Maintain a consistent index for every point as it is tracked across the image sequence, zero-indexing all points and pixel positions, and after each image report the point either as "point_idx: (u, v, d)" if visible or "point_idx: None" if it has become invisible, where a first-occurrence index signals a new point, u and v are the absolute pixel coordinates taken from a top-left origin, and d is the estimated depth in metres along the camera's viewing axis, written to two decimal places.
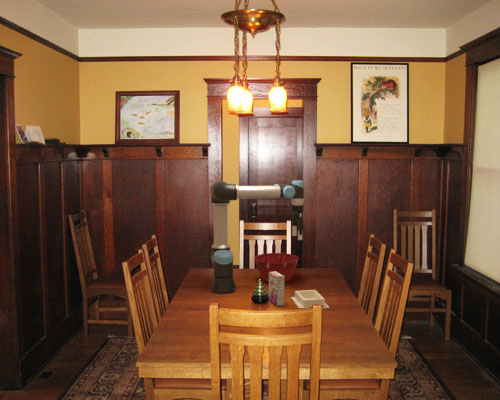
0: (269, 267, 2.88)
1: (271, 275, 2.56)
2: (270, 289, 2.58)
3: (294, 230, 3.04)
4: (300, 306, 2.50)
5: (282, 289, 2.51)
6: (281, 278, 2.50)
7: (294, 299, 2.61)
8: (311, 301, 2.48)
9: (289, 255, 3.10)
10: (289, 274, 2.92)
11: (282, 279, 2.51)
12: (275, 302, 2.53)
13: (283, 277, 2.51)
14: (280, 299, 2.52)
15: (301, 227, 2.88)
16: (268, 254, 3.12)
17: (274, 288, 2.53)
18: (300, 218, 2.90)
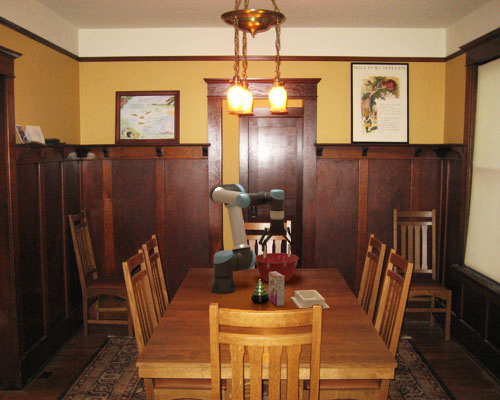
0: (269, 267, 2.88)
1: (271, 275, 2.56)
2: (270, 289, 2.58)
3: (288, 249, 2.55)
4: (300, 306, 2.50)
5: (282, 289, 2.51)
6: (281, 278, 2.50)
7: (294, 299, 2.61)
8: (311, 301, 2.48)
9: None
10: (289, 274, 2.92)
11: (282, 279, 2.51)
12: (275, 302, 2.53)
13: (283, 277, 2.51)
14: (280, 299, 2.52)
15: (258, 242, 2.52)
16: (268, 254, 3.12)
17: (274, 288, 2.53)
18: (263, 232, 2.52)
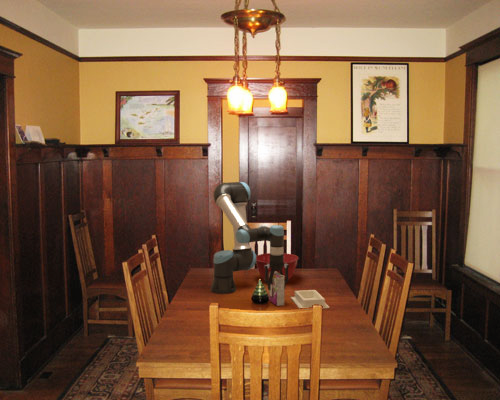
0: (269, 267, 2.88)
1: None
2: None
3: None
4: (300, 306, 2.50)
5: (282, 289, 2.51)
6: (281, 278, 2.50)
7: (294, 299, 2.61)
8: (311, 301, 2.48)
9: (289, 255, 3.10)
10: (289, 274, 2.92)
11: (282, 279, 2.51)
12: (275, 302, 2.53)
13: (283, 277, 2.51)
14: (280, 299, 2.52)
15: (265, 281, 2.55)
16: (268, 254, 3.12)
17: (274, 287, 2.53)
18: (265, 270, 2.54)
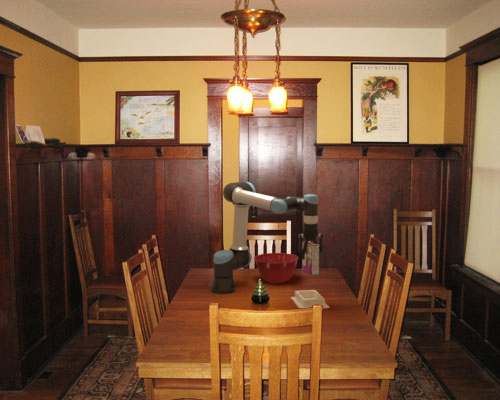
0: (269, 267, 2.88)
1: None
2: None
3: None
4: (300, 306, 2.50)
5: (317, 258, 2.50)
6: (316, 247, 2.49)
7: (294, 299, 2.61)
8: (311, 301, 2.48)
9: (289, 255, 3.10)
10: (289, 274, 2.92)
11: (317, 248, 2.49)
12: (310, 271, 2.51)
13: (318, 246, 2.49)
14: (315, 268, 2.50)
15: (299, 250, 2.53)
16: (268, 254, 3.12)
17: (309, 257, 2.51)
18: (299, 240, 2.53)
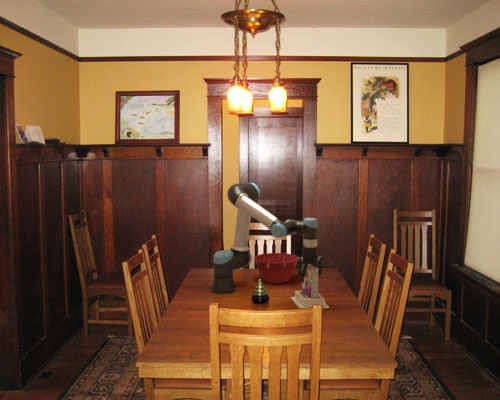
0: (269, 267, 2.88)
1: None
2: None
3: None
4: (300, 306, 2.50)
5: (316, 281, 2.51)
6: (315, 270, 2.50)
7: (294, 299, 2.61)
8: (311, 301, 2.48)
9: (289, 255, 3.10)
10: (289, 274, 2.92)
11: (316, 271, 2.50)
12: (309, 294, 2.52)
13: (317, 269, 2.51)
14: (314, 291, 2.51)
15: (298, 273, 2.55)
16: (268, 254, 3.12)
17: (308, 280, 2.52)
18: (299, 263, 2.54)
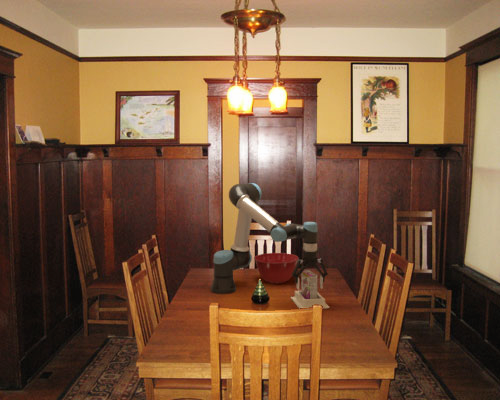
0: (269, 267, 2.88)
1: (304, 274, 2.56)
2: (303, 288, 2.58)
3: (320, 281, 2.57)
4: (300, 306, 2.50)
5: (315, 288, 2.51)
6: (314, 277, 2.50)
7: (294, 299, 2.61)
8: (311, 301, 2.48)
9: (289, 255, 3.10)
10: (289, 274, 2.92)
11: (315, 278, 2.51)
12: None
13: (316, 276, 2.51)
14: (313, 298, 2.52)
15: (292, 274, 2.54)
16: (268, 254, 3.12)
17: (307, 286, 2.53)
18: (296, 264, 2.54)
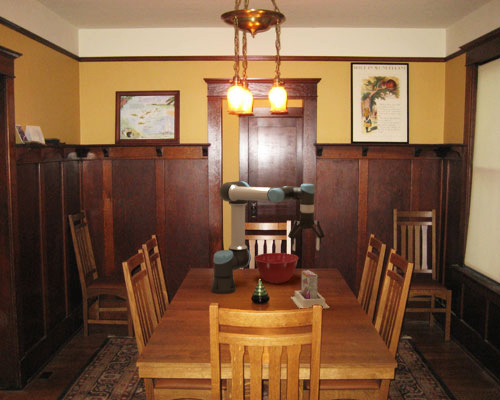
0: (269, 267, 2.88)
1: (304, 274, 2.56)
2: (303, 288, 2.58)
3: (317, 243, 2.58)
4: (300, 306, 2.50)
5: (315, 288, 2.51)
6: (314, 277, 2.50)
7: (294, 299, 2.61)
8: (311, 301, 2.48)
9: (289, 255, 3.10)
10: (289, 274, 2.92)
11: (315, 278, 2.51)
12: None
13: (316, 276, 2.51)
14: (313, 298, 2.52)
15: (288, 235, 2.55)
16: (268, 254, 3.12)
17: (307, 286, 2.53)
18: (293, 226, 2.55)
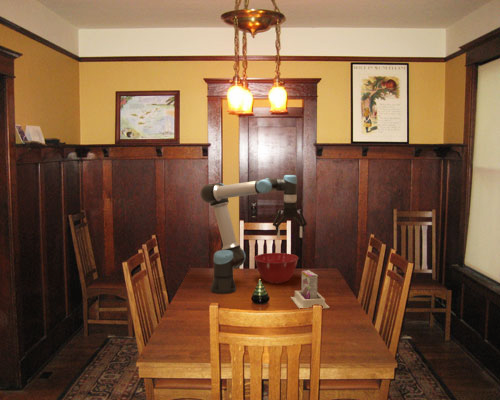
0: (269, 267, 2.88)
1: (304, 274, 2.56)
2: (303, 288, 2.58)
3: (300, 231, 2.74)
4: (300, 306, 2.50)
5: (315, 288, 2.51)
6: (314, 277, 2.50)
7: (294, 299, 2.61)
8: (311, 301, 2.48)
9: (289, 255, 3.10)
10: (289, 274, 2.92)
11: (315, 278, 2.51)
12: None
13: (316, 276, 2.51)
14: (313, 298, 2.52)
15: (273, 224, 2.71)
16: (268, 254, 3.12)
17: (307, 286, 2.53)
18: (277, 215, 2.71)
